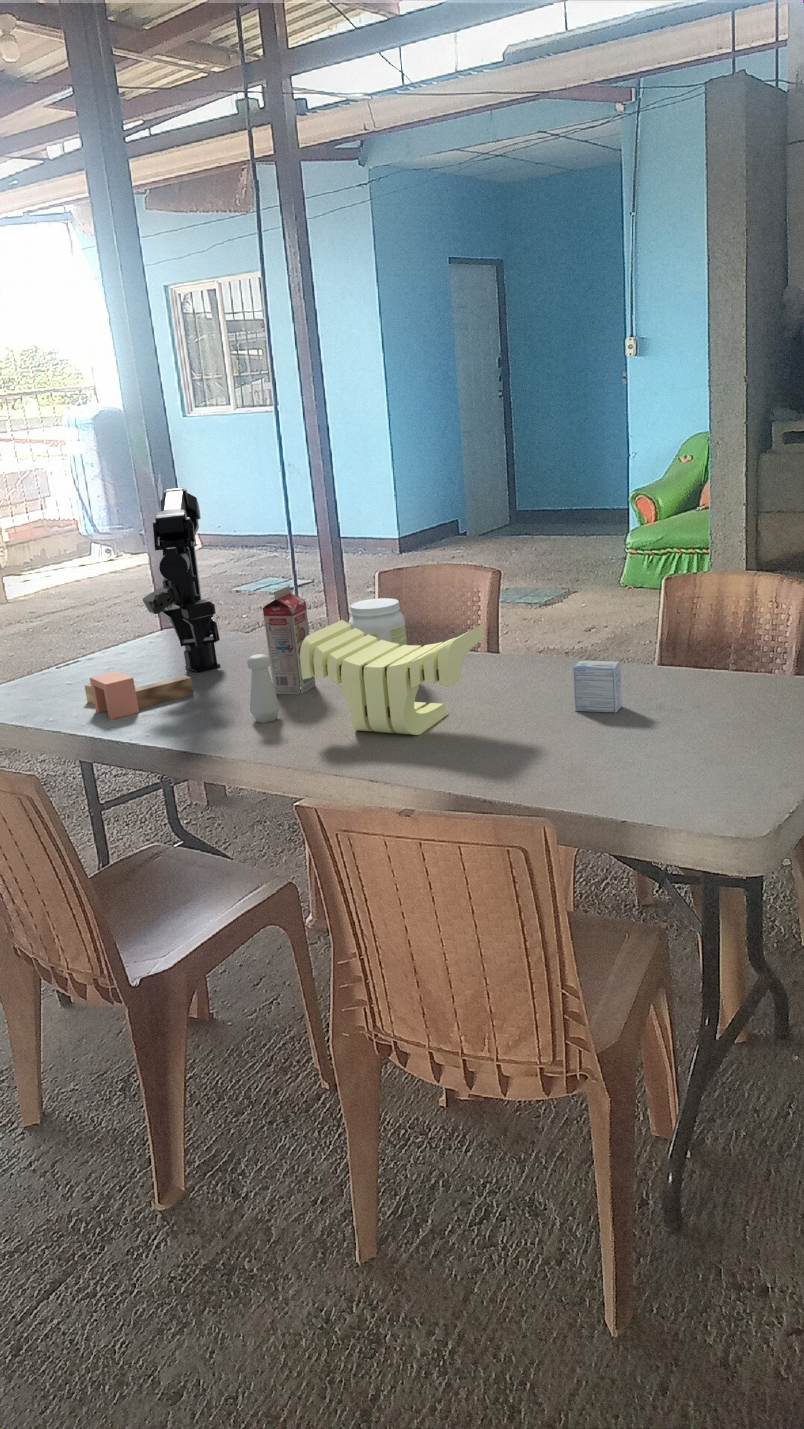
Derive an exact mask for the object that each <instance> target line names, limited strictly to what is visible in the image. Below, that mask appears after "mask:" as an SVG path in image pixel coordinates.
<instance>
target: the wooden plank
mask: <svg viewBox="0 0 804 1429" xmlns="http://www.w3.org/2000/svg"><path fill="white" fill-rule="evenodd" d="M193 689H194V687H193V681H192V677H190V676H187V675H181V676H178V677H174V678H170V679H165V680H162V681H158V682H153V683H150V684H145V685H141V686H137V687H135V691H136V697H137V703H138V708H139V709H141V708H145V707H149V706H153V705H156V704H160V703H164V702H169V701H172V700H177V699H180V698H184V697H188V696H190V695H194V694H195V693H194V690H193Z"/></svg>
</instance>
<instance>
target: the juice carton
mask: <svg viewBox="0 0 804 1429" xmlns="http://www.w3.org/2000/svg"><path fill="white" fill-rule="evenodd" d="M273 597H274V600H272V601H271V602H269V603H267V604H266V605H264V606H263V607H262V614H263V620H264V628H265V635H266V636H265V637H266V643H267V651H268V657H269V660H270V665H269V666H270V674H271V675H270V676H271V680H272V683H273V686H274V690H275V693H276V695H303V694H304V693H307V692H308V691H310V690H311V689H313V688H314V687H315V685H316V679H315V678H316V677H315V676H313V677H311V678H307V679H302V671H301V663H300V649H301V645H302V642H303V640H304V639H305V638H306V637H307V636H308V635H310V627H309V619H308V612H307V610H308V609H307V602H306V600H305V599H303V598H302V597H300V596H297V595H296V594H294V593H292V591H291V585H288V586H285V587H282V588H280V589H278V590H275V591H274V592H273ZM300 687H301V689H300Z"/></svg>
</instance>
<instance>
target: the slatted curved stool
mask: <svg viewBox="0 0 804 1429" xmlns="http://www.w3.org/2000/svg"><path fill="white" fill-rule="evenodd" d="M484 624H485V623H484V622H483V623H481V624H479V625H478V626H476V627H474V628H473V629H471V630H469V631H467V632H464V633H463V634H461V635H459V636H456V637H453V638H450V639H447V640H446V641H440V642H436V643H431V644H430V643H429V644H425V645H424V646H422V645H411V644H407V645H402V646H401V647H400V646H399V644H396V643H392V642H388V641H385V640H380V641H378V640H377V638H376V637H374V636H371V635H369V634H368V635H366V636H364V632H362V631H360V630H359V629H357V628H354V629H352V630H351V625H350V624H348V622H346V621H345V620H343V619H340V620H339V621H338V620H337V621H336V622H334V623H332V624H330V625H327V626H325V627H323V628H321V629H319V630H317V631H314V632H312V633H309V635H308V636H307V637H306V638H305V639H304V640H303V642H302V645H301V649H300V663H301V671H302V679H307V678H311V677H313V676H314V677H315V678H323V679H325V678H326V677H328V678H327V679H328V680H330V681H332V682H333V683H335V684H337V685H340V684H341V686H342V692H343V695H344V698H345V700H346V702H347V706H348V707H349V711H350V715H351V721H352V726H353V730H354V731H360V732H361V731H362V732H376V733H388V734H399V735H413V736H414V735H415V736H419V735H421V734H423V733H424V732H426V731H427V730H428V729H430V728H431V727H432V726H434V725H435V724H436V723H438V722H439V721H440V720H443V718H445V717H447V715H449V714H450V713H449V711H448V709H447V707H446V705H445V704H444V703H439V702H438V703H437V702H429V704H427V702H420V701H416V696H417V693H418V690H419V688H420V685H421V684H423V683H425V684H437V683H438V682H439V685H440V686H445V687H447V688H452V686H455V685H456V684H458V682H461V672H462V671H461V670H462V665H463V662H464V659H465V658H466V656H467V654H468V653H469V652H470V650H471V649H473V648H474V647H475V645H477V644H479V643H480V642H481V641H482V640H484V639H485V626H484Z"/></svg>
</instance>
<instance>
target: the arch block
mask: <svg viewBox="0 0 804 1429" xmlns="http://www.w3.org/2000/svg"><path fill="white" fill-rule="evenodd" d="M89 680H90V681H89V682H90V683H91V688H92V693H93V698H94V703H93V704H94V708H95V712H97V713H100V714H101V713H105V712H107V715H108V719H109V720H110V719H111V720H114V719H119V718H122V717H126V716H130V715H133V714H138V713H139V712H140V708H138V703H137V697H136V691H135V688H136V686H135V680H134V677H132V676H130V675H127V674H125V673H122V672H120V671H117V670H114V671H110V672H106V673H102V674H98V675H94V676H89Z"/></svg>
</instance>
